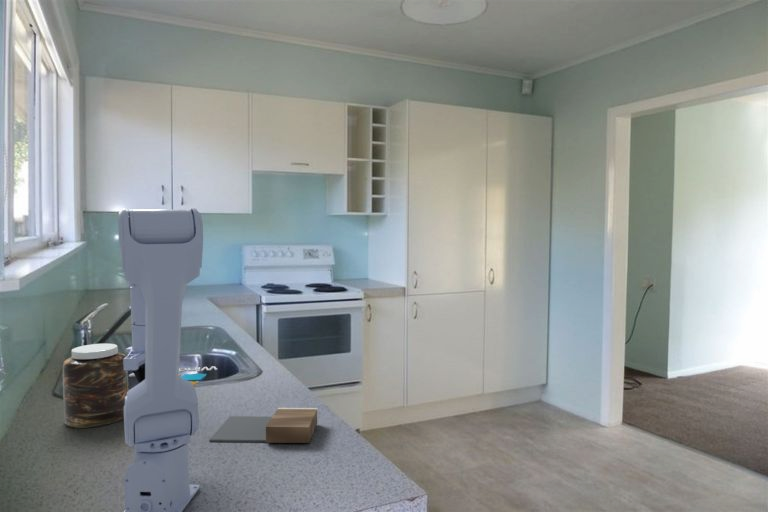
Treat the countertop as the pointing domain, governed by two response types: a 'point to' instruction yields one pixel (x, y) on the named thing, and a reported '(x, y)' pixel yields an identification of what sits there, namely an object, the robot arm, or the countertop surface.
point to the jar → (94, 386)
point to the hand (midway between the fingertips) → (152, 400)
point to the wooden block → (292, 425)
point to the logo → (191, 377)
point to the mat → (242, 429)
